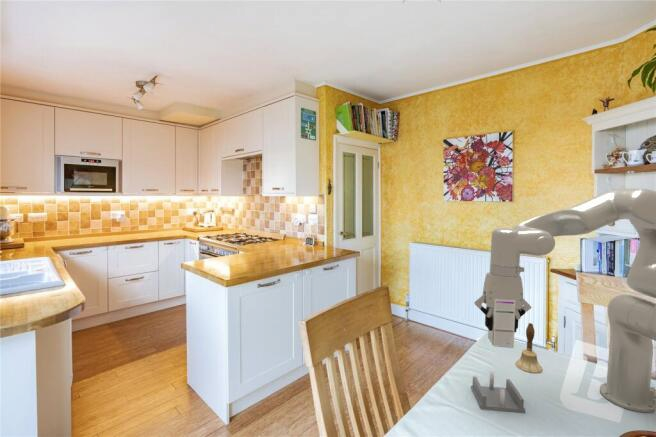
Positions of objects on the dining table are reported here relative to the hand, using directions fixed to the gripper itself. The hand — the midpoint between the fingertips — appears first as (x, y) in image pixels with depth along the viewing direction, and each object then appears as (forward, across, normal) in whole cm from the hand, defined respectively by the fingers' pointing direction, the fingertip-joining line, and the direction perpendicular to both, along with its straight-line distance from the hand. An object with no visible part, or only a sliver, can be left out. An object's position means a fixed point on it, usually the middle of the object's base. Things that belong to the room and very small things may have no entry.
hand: (501, 329), depth 96 cm
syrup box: (+5, 0, 0) cm, 5 cm away
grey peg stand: (+22, 0, +1) cm, 22 cm away
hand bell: (+22, -17, -21) cm, 35 cm away
